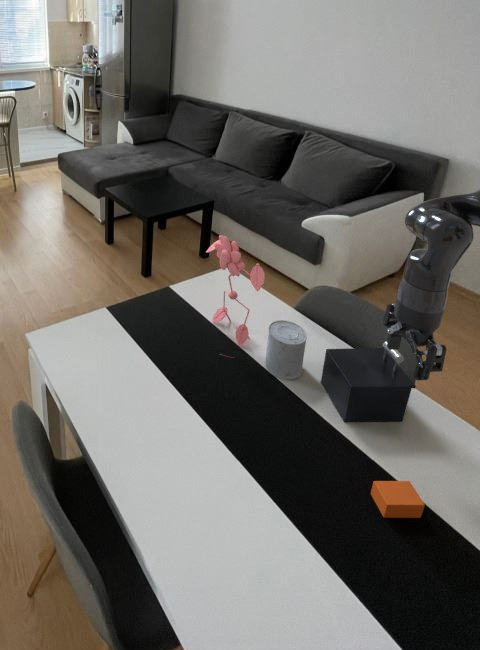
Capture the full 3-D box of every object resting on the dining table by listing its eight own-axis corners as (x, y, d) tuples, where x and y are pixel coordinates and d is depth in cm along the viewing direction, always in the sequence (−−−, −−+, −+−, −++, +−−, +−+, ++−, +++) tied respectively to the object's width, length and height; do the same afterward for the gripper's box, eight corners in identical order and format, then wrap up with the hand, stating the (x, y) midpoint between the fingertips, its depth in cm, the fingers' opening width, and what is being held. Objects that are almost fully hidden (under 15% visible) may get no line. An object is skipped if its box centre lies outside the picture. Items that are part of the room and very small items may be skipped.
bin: (372, 381, 115) (380, 350, 111) (402, 422, 103) (411, 388, 99) (320, 382, 116) (325, 351, 112) (344, 422, 104) (350, 389, 100)
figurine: (217, 305, 148) (221, 215, 136) (270, 356, 125) (282, 253, 113) (178, 317, 144) (179, 225, 131) (227, 372, 121) (233, 267, 108)
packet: (405, 493, 89) (409, 480, 87) (420, 518, 84) (425, 505, 83) (370, 493, 89) (373, 480, 88) (383, 517, 85) (387, 504, 83)
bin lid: (383, 350, 111) (387, 330, 108) (415, 388, 99) (420, 368, 97) (325, 351, 112) (328, 332, 109) (350, 389, 100) (354, 369, 98)
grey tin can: (261, 370, 121) (264, 336, 116) (269, 349, 128) (272, 316, 123) (298, 384, 115) (303, 349, 111) (304, 361, 123) (309, 327, 118)
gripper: (469, 323, 78) (450, 389, 84) (415, 278, 91) (401, 338, 97) (426, 325, 78) (410, 391, 84) (378, 280, 92) (367, 340, 97)
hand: (405, 363), depth 91 cm, fingers open, 8 cm apart
